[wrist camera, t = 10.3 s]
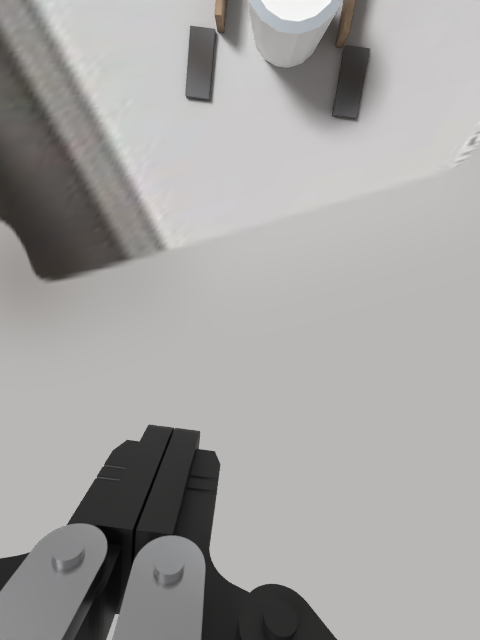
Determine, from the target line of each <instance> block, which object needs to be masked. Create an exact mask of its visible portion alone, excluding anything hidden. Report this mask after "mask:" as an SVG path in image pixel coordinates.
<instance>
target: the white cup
mask: <svg viewBox="0 0 480 640" xmlns="http://www.w3.org/2000/svg"><path fill="white" fill-rule="evenodd" d="M342 1H343V0H247V3H248V8H249V14H250V20H251V25H252V31H253V35H254V40H255V44H256V47H257V49H258V50H259V52H260V54H261V55H262V57H263V58H264V59H265V60H267V61H268V62H270V63H271V64H273V65H274V66H277V67H285V68H290V67H293V66H296V65H299V64H302V63H303V62H304V61H305V60H306V59H307V58H309V57H310V56H311V55H312V54H313V52H314V50H315V49H316V47H317V45H318V43H319V42H320V40H321V38H322V37H323V35H324V33H325V31H326V30H327V28H328V26H329V24H330V23H331V21H332V19H333V17H334V16H335V14H336V12H337V10H338V9H339V7H340V5H341V3H342Z"/></svg>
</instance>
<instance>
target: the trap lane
mask: <svg viewBox="0 0 480 640" xmlns="http://www.w3.org/2000/svg"><path fill="white" fill-rule="evenodd" d="M354 5H355V0H343V6H342V12H341V18H340V24H339V30H338V36H337V42H336V47H341V48H342V46H343V44H344V42H345V40H346V38H347V36H348V34H349V32H350V28H351V22H352V16H353V11H354ZM226 6H227V0H216V4H215V19H216V24H217V30H218V32H223V33H224V27H225V16H226ZM214 43H215V29H211V28H203V27H195V26H190V38H189V52H188V66H187V80H186V95H185V96H186V97H187V98H195V99H203V100H210V88H211V77H212V66H213V54H214ZM369 52H370V49H369V48H361V47H353V46H346V45H345V47H344V52H343V57H342V63H341V69H340V75H339V80H338V86H337V92H336V98H335V103H334V109H333V115H332V116H336V117H344V118H352V119H356V118H357V114H358V109H359V104H360V98H361V93H362V88H363V83H364V78H365V72H366V67H367V62H368V57H369Z"/></svg>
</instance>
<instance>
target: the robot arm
mask: <svg viewBox="0 0 480 640" xmlns="http://www.w3.org/2000/svg"><path fill="white" fill-rule="evenodd" d="M199 440H200V431H195V430H187V429H179V428H175V430H174V428H171V427H163V426H156V425H148V427H147V429H146V431H145V432H144V434H143V437H142V438H141V440H140V442H138V441H131V440H127V441H125V442H124V443H123V444H121V445H120V446H119V447H117V448H116V449H114V450H113V451H112V453H111V454H110V456H109V458H108V459H107V461H106V462H105V465H104V467H102V469H101V471H100V472H99V474H98V476H97V479H95V480H94V482H93V484H92V485H91V487H90V488H89V490H88V492H87V493H86V495H85V497H84V498H83V500H82V501H81V503H80V505H79V506H78V508H77V509H76V511H75V513H74V514H73V516H72V517H71V519H70V521H69V523H68V524H67V525H66V526H63V527H61V528H58V529H56V530H54V531H52V532H51V533H49V534H48V535H46V536H45V537H44V538H43V539H41V540H40V541H39V542H38V543H37V545H36V546H35V547H34V548H33V550H32V551H31V552H30V553H27V554H23V555H18V556H14V557H7V558H1V559H0V640H106V638H107V636H108V633H109V630H110V627H111V624H112V621H113V618H114V615H115V614H119V617H118V620H117V624H116V628H115V631H114V635H113V639H112V640H337V639H336V638H335V637H334V635H333V634H332V633H331V632H330V630H329V629H328V628H327V627H326V626H325V624H324V623H323V622H322V621H321V619H320V618H319V617H318V616H317V614H316V613H315V612H314V611H313V609H312V608H311V607H310V606H309V604H308V603H307V602H306V601H305V600H304V599H303V598H302V597H301V596H300V595H299V594H298V593H297V592H295V591H293V590H292V589H290V588H287V587H285V586H282V585H278V584H266V585H262V586H259V587H257V588H255V589H254V590H252V591H251V592H250V593H249V592H247V591H245V590H243V589H241V588H239V587H237V586H235V585H233V584H232V583H230V582H228V581H227V580H226V579H225V578H223V577H222V576H221V575H220V574H219V573H218V571H217V570H216V568H215V567H214V565H213V563H212V561H211V557H210V553H209V546H210V539H211V531H212V524H213V516H214V509H215V502H216V494H217V486H218V479H219V471H220V463H219V460H218V458H217V456H216V453H215V452H214V451H208V450H200V449H199Z"/></svg>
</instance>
